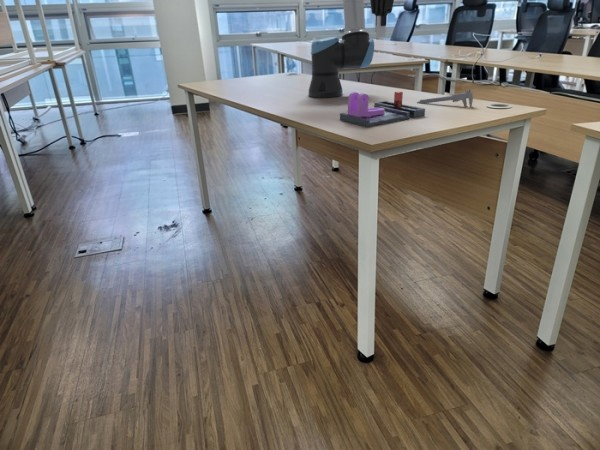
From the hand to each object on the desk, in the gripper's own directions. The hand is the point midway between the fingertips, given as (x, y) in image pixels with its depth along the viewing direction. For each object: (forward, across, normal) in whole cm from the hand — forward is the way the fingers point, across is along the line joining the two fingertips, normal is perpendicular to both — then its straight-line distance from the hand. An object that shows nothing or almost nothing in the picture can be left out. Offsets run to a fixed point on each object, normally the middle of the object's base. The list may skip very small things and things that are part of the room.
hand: (380, 36), depth 146 cm
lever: (+24, +14, 0) cm, 27 cm away
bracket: (+23, +12, -15) cm, 30 cm away
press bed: (+24, +14, -14) cm, 31 cm away
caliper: (+25, +12, +22) cm, 35 cm away
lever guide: (+24, +11, 0) cm, 27 cm away
